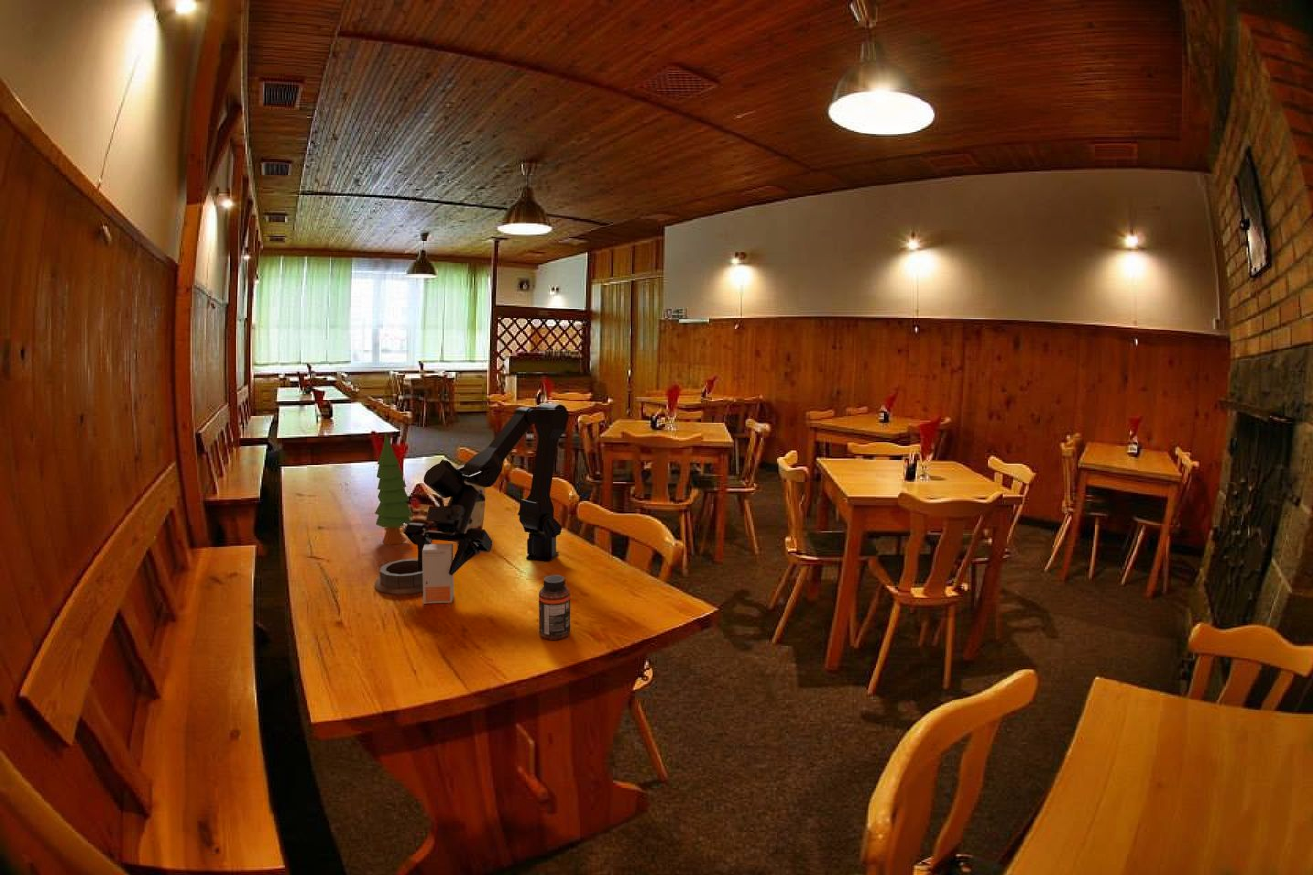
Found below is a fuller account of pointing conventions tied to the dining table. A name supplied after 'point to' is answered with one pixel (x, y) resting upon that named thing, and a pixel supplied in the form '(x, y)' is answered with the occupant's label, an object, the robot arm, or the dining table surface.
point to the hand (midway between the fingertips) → (434, 572)
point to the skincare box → (437, 573)
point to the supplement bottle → (554, 608)
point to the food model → (476, 510)
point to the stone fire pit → (400, 578)
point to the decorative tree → (391, 496)
